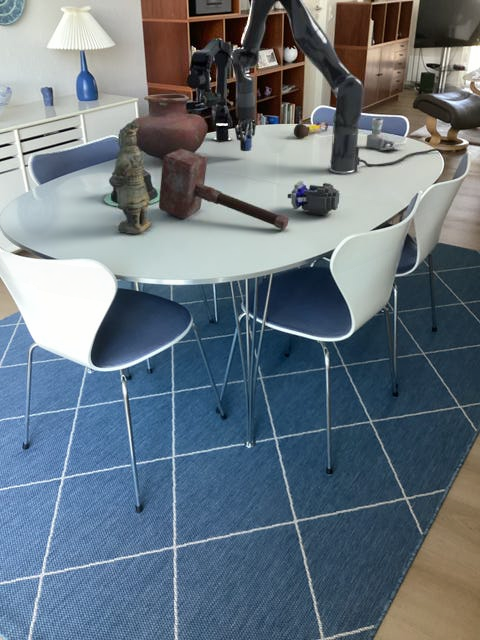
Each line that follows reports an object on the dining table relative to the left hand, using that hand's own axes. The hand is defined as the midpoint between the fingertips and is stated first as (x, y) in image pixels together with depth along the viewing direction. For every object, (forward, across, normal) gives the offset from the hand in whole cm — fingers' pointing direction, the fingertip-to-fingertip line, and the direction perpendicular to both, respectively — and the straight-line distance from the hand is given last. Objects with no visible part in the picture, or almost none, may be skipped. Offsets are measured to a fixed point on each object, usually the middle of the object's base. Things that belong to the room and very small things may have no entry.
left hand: (205, 124), depth 237 cm
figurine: (+11, +55, 0) cm, 56 cm away
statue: (+11, -60, -73) cm, 95 cm away
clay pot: (+11, -20, -7) cm, 24 cm away
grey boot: (+11, +64, -42) cm, 77 cm away
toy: (+11, -9, -90) cm, 91 cm away
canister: (+7, +7, -23) cm, 25 cm away
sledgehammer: (+11, -35, -81) cm, 89 cm away
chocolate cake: (+11, -50, -45) cm, 68 cm away
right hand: (+6, +7, -23) cm, 25 cm away
